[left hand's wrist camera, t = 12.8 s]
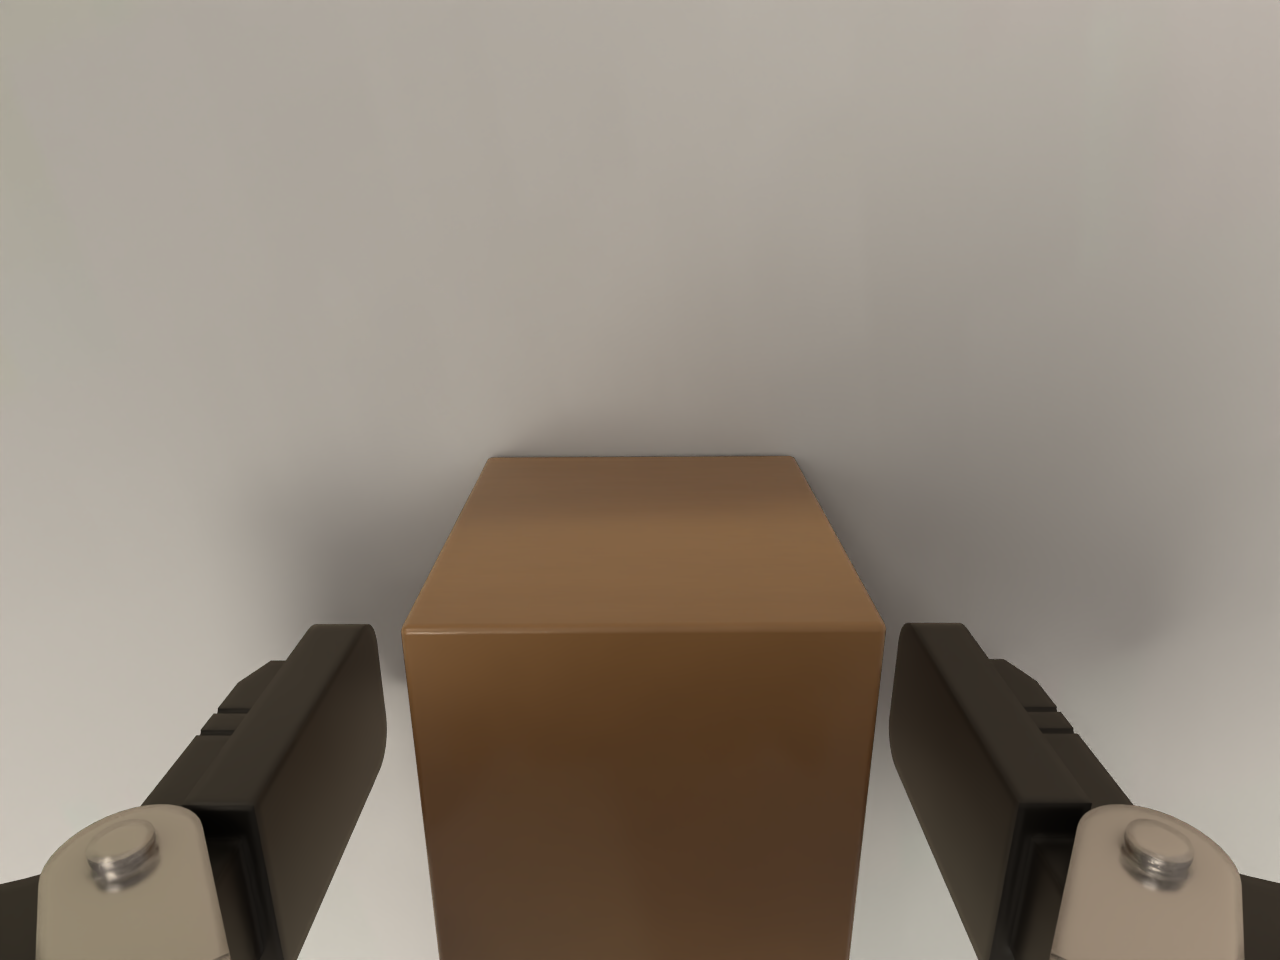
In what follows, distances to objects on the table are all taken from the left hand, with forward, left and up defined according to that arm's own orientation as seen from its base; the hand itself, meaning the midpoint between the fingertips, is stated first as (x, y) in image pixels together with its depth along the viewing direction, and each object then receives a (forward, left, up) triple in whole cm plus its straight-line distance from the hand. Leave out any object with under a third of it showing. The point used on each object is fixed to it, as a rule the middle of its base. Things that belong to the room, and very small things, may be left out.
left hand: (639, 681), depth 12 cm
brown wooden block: (0, 0, -1) cm, 1 cm away
